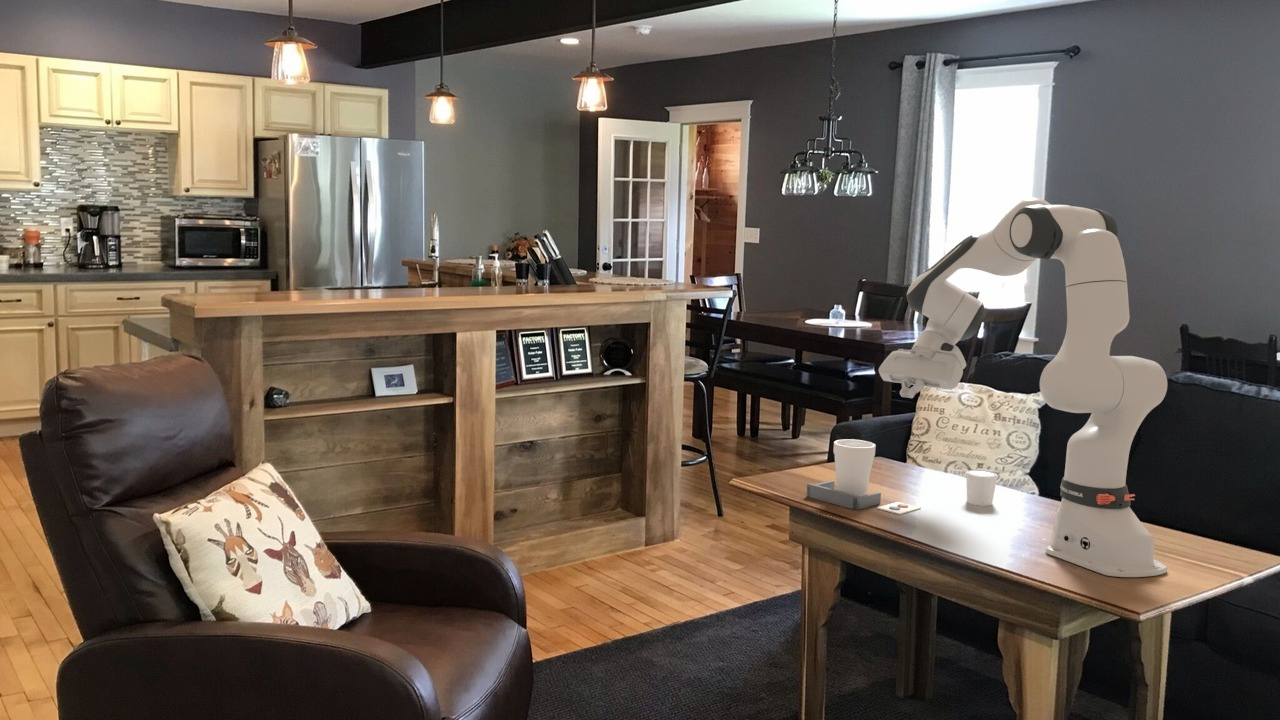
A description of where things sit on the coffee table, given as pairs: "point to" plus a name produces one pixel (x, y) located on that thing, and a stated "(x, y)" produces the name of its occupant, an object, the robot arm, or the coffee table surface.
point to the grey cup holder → (841, 496)
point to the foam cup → (853, 465)
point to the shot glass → (980, 487)
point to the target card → (898, 508)
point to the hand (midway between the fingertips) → (905, 395)
